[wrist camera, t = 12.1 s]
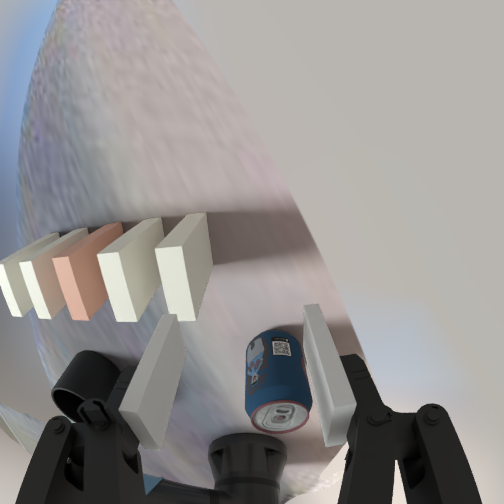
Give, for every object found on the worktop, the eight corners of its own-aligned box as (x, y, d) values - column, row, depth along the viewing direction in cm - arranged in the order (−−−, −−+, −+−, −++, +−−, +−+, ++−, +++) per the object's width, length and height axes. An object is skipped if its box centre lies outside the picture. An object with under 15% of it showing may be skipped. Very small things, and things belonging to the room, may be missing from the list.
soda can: (292, 367, 37) (303, 437, 25) (242, 362, 36) (240, 434, 25) (305, 328, 34) (325, 399, 23) (251, 321, 34) (250, 395, 23)
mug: (134, 404, 40) (120, 444, 32) (74, 375, 39) (53, 410, 30) (143, 374, 37) (126, 418, 29) (75, 340, 36) (48, 377, 27)
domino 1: (58, 232, 30) (3, 264, 19) (70, 275, 32) (22, 316, 21) (48, 233, 30) (-7, 265, 19) (60, 275, 32) (12, 315, 22)
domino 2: (87, 227, 30) (31, 261, 19) (98, 273, 32) (51, 319, 21) (75, 229, 30) (18, 262, 19) (86, 274, 32) (39, 318, 21)
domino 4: (161, 217, 29) (118, 252, 19) (170, 268, 31) (137, 321, 21) (144, 219, 29) (96, 254, 19) (154, 269, 31) (117, 321, 21)
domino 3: (121, 221, 29) (68, 256, 19) (132, 270, 31) (89, 320, 21) (107, 223, 30) (51, 258, 19) (118, 271, 32) (72, 319, 21)
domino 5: (206, 212, 29) (181, 246, 19) (213, 265, 31) (196, 320, 21) (187, 214, 29) (154, 248, 19) (195, 266, 31) (171, 321, 21)
